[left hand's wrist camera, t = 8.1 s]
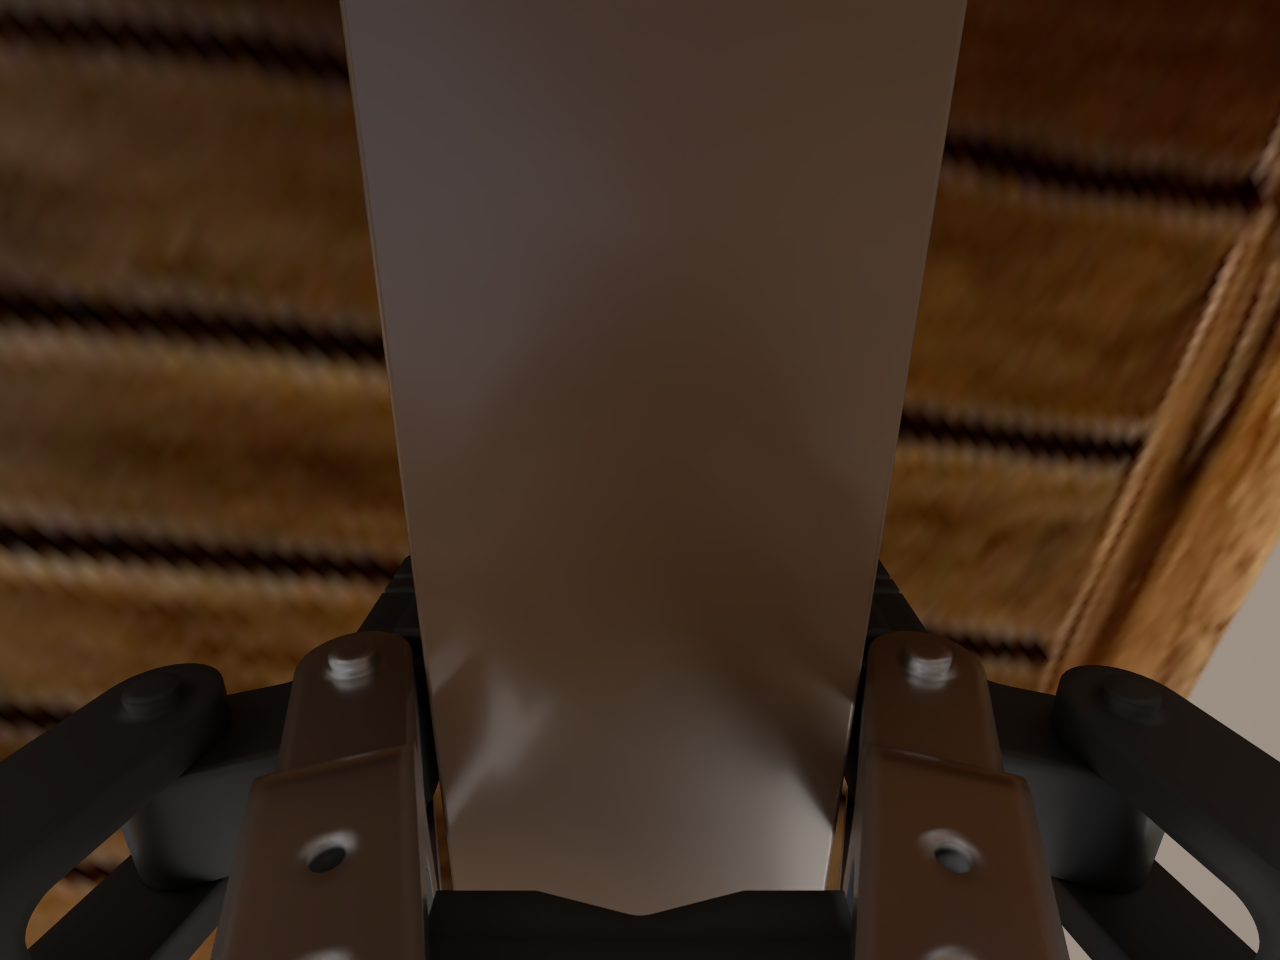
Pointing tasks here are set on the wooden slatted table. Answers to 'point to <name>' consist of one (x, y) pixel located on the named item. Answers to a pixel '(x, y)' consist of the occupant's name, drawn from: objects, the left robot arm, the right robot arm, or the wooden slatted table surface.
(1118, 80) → the wooden slatted table surface
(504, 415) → the beam
